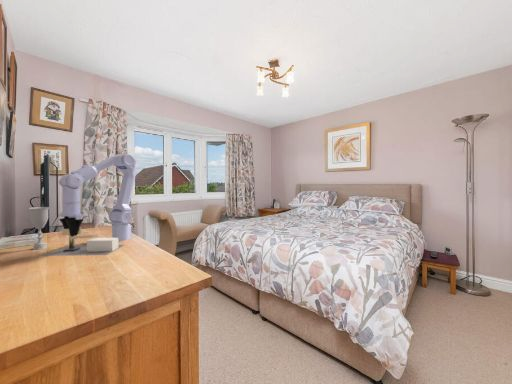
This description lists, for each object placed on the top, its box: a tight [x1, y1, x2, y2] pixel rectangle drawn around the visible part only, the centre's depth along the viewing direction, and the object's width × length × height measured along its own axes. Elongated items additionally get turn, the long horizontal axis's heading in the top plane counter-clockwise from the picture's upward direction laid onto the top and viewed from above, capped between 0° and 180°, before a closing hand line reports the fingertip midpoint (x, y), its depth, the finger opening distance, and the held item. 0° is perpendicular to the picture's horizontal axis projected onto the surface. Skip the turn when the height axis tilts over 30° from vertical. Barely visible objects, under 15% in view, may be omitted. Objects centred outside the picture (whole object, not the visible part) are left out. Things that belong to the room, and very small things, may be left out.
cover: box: [86, 237, 119, 252], centre depth 98 cm, size 5×10×4 cm, turn 95°
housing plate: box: [41, 244, 125, 257], centre depth 97 cm, size 15×24×2 cm, turn 95°
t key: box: [61, 227, 99, 249], centre depth 98 cm, size 2×12×8 cm, turn 118°
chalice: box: [28, 206, 50, 251], centre depth 102 cm, size 7×7×18 cm
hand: (71, 235), depth 96 cm, fingers closed on t key, 3 cm apart
